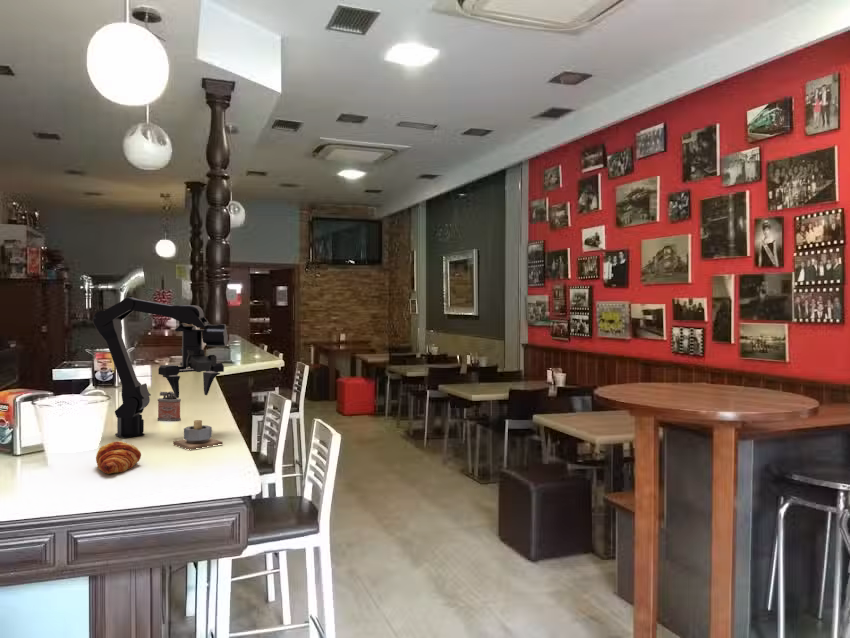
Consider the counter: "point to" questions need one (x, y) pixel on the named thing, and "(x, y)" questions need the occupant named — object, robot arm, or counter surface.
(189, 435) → the ring
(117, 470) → the croissant
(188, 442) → the peg stand
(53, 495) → the counter surface
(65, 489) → the counter surface
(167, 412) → the lighter
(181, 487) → the counter surface
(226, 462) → the counter surface
